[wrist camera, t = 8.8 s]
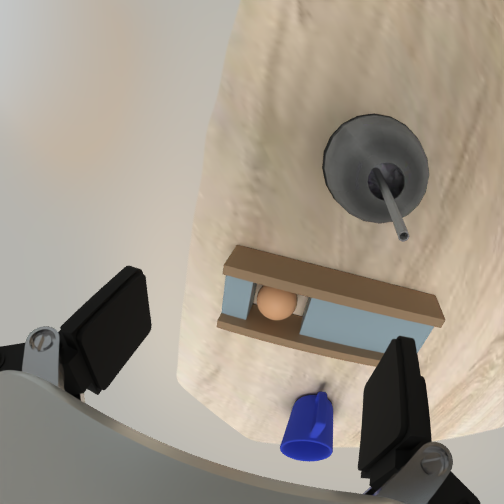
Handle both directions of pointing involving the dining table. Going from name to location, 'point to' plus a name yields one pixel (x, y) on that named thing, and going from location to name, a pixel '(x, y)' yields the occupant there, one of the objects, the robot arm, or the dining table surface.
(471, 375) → the dining table surface
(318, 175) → the dining table surface
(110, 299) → the robot arm
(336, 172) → the beverage cup
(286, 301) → the ball
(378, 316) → the board
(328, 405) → the mug
